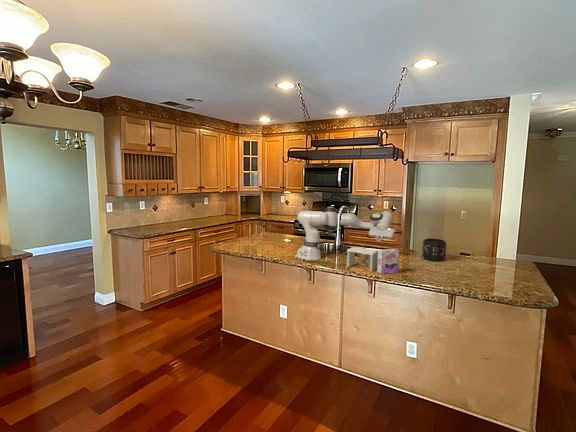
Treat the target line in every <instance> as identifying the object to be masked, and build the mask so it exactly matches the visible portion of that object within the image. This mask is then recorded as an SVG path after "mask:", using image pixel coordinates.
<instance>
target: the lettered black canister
mask: <svg viewBox="0 0 576 432" xmlns="http://www.w3.org/2000/svg"><path fill="white" fill-rule="evenodd" d="M446 254H447V243H446V241H445V240H444V239H440V238H424V240H423V241H422V254H421V257H422V258H423V259H424V260H425V261H429V262H439V263H440V262H443V261H445V259H446Z"/></svg>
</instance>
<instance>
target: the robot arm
mask: <svg viewBox="0 0 576 432" xmlns="http://www.w3.org/2000/svg"><path fill="white" fill-rule="evenodd" d="M338 214H339V210H338V209H337V208H336V207H334V206H327V207H326V208H325V209H324V211H318V210H316V211H315V210H301V211H299V212H298V214H297V221H298V223H300V224H301V226H303V228H304V231H305V241H303V245H302V246H301V247H300V248H298V249H297V252H296V253H297V254H294V256H295V257H294V258H296V257H298V258H297V259H300V258H301V259H300V260H303V259H305V261H317V260H321V259H322V256H321V251H320V250H321V249H320V248H321V241H320V240H321V239H320V238H321V237H320V236H321V235H320V231H319V230H318V229H317V228H315V227H314V225H315V226H322V228H324V230H326V231H327V232H331V233H332V232H334V231H336V230H337V225H338V224H337V221H338ZM341 214H342V215H341V220H340V225H339V226H347V227H348V226H350V227H354V228H357V229H365V230H366V229H367V230H369V231H368V235H369V237H371V238H376V242H378V243H381V241H383V240H384V239H387V240H393V239H394V235H395V233H396V229H394V228H390V227H391V223H392V221H393V217H394V216H393V213H392V212H390V211H388V210H384V211H383V212H373V213H371V214H370V216H369V220H370V221H363V220H361V219H360V218H359V217H358V216H357V215H356V214H355V213H351V212H345V213H344V212H343V213H341Z"/></svg>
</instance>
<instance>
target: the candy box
mask: <svg viewBox="0 0 576 432" xmlns="http://www.w3.org/2000/svg"><path fill="white" fill-rule="evenodd" d="M377 251H378V257H377V269H376V273H379V274H380V275H388V274H389V275H390V274H398V273H399V268H400V267H399V266H400V264H399V263H400V250H399V249H397V248H391V249H389V248H387V249H378V250H377Z"/></svg>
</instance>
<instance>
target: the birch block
mask: <svg viewBox="0 0 576 432" xmlns="http://www.w3.org/2000/svg"><path fill="white" fill-rule="evenodd" d="M358 260H359V261H358V265H359V266H364V267H370V255H369V254H363V253H359V259H358Z"/></svg>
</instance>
